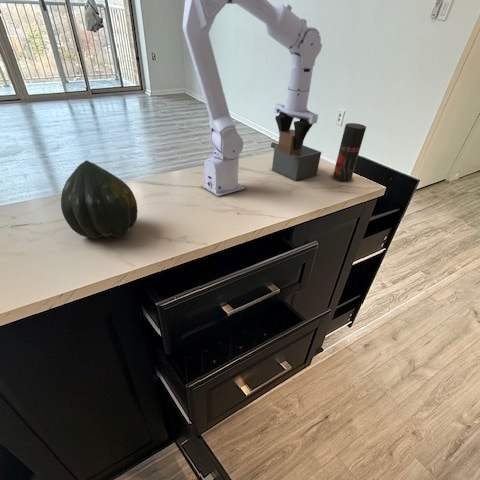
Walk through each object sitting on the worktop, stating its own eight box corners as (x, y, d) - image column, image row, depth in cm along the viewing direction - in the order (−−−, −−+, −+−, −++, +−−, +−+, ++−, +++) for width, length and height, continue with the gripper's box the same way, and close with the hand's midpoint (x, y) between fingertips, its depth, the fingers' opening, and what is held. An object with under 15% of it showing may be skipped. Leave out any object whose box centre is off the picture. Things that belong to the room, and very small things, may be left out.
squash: (111, 234, 61) (119, 155, 60) (40, 227, 63) (47, 150, 62) (143, 248, 75) (149, 184, 74) (84, 242, 77) (90, 180, 76)
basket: (295, 181, 100) (299, 157, 95) (259, 164, 109) (261, 142, 104) (316, 174, 104) (321, 151, 99) (280, 159, 113) (283, 137, 109)
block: (289, 155, 90) (292, 136, 87) (277, 150, 93) (279, 131, 90) (301, 152, 93) (304, 133, 89) (289, 148, 95) (292, 129, 92)
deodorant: (353, 182, 101) (368, 129, 91) (334, 181, 101) (348, 127, 91) (348, 175, 105) (363, 123, 95) (331, 174, 105) (343, 122, 95)
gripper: (330, 93, 80) (318, 151, 90) (289, 83, 88) (282, 138, 98) (311, 95, 77) (301, 155, 87) (271, 85, 85) (265, 141, 94)
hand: (290, 146), depth 92 cm, fingers closed on block, 5 cm apart
